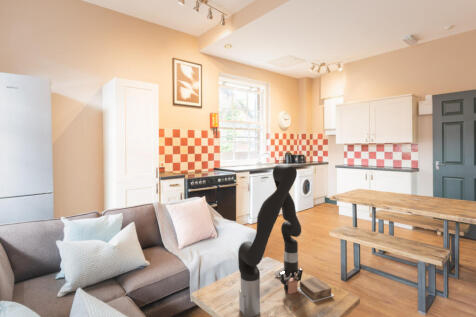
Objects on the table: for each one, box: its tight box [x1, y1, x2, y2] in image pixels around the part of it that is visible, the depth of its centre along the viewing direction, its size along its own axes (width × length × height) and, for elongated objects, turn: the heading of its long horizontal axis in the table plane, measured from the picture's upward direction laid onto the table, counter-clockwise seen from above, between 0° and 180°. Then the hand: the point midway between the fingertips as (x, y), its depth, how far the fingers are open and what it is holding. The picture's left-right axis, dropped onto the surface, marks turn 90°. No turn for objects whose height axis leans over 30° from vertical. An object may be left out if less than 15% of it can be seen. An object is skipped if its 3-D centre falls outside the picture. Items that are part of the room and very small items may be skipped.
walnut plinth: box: [299, 277, 332, 300], centre depth 140 cm, size 11×12×4 cm
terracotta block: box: [286, 278, 298, 295], centre depth 142 cm, size 5×5×6 cm
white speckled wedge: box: [273, 264, 288, 278], centre depth 157 cm, size 6×8×12 cm
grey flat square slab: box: [297, 286, 335, 303], centre depth 140 cm, size 14×14×1 cm
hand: (290, 289), depth 142 cm, fingers closed on terracotta block, 5 cm apart
